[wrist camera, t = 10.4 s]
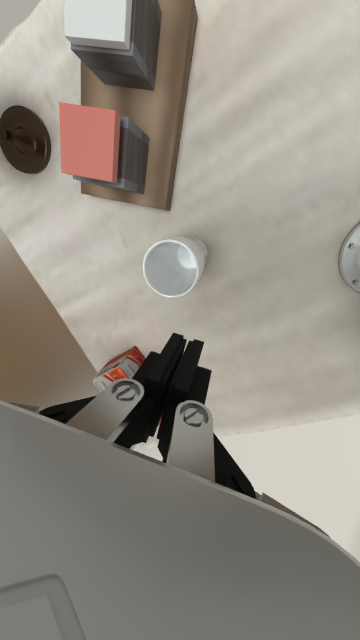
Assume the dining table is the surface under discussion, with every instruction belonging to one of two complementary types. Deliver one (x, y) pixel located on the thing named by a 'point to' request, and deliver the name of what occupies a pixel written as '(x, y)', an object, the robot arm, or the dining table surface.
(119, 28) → the grey plunger
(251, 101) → the dining table surface
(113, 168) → the red plunger
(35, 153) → the candlestick
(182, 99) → the board
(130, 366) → the medicine box
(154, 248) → the drinking glass
